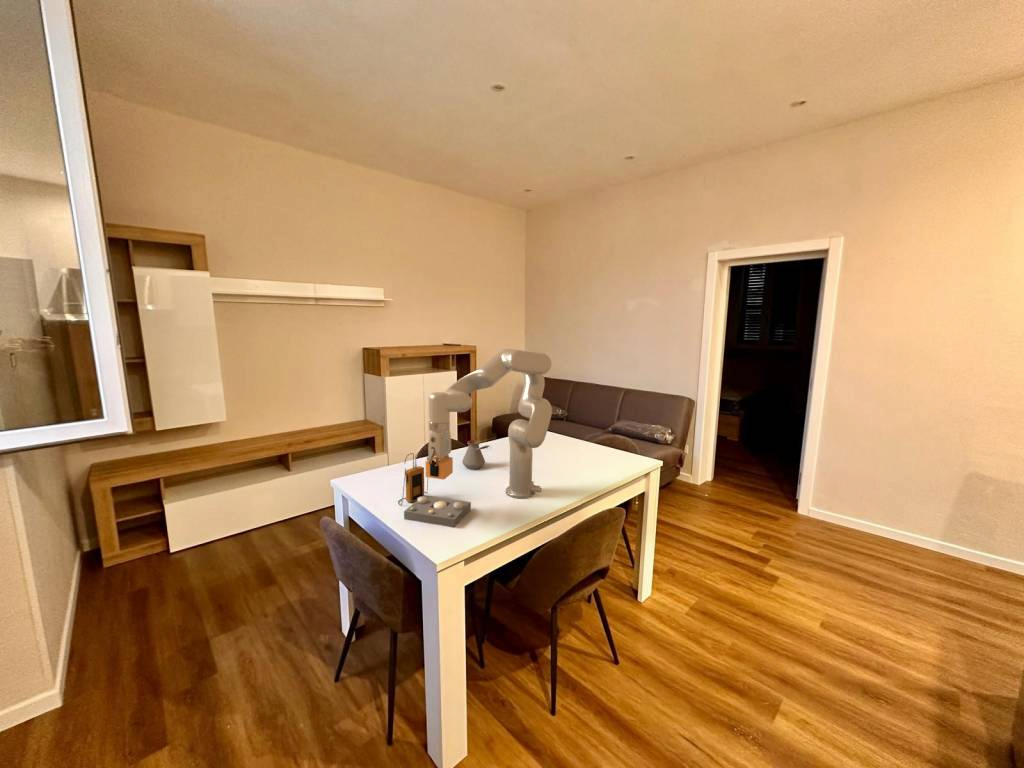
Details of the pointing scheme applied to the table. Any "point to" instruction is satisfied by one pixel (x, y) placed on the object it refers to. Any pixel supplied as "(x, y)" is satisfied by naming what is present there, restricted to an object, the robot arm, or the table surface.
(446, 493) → the table surface
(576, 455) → the table surface
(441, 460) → the orange block
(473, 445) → the coffee pot
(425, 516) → the grey flat block
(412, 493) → the multimeter
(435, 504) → the button
